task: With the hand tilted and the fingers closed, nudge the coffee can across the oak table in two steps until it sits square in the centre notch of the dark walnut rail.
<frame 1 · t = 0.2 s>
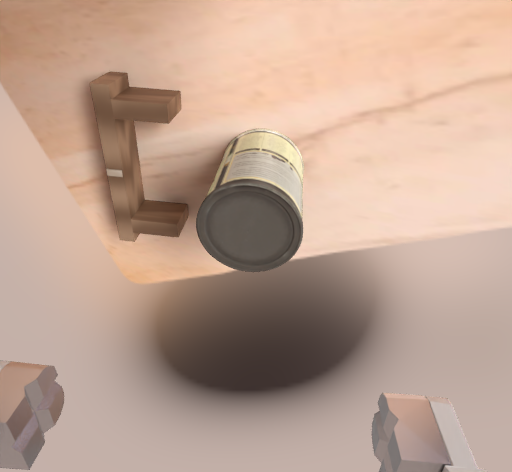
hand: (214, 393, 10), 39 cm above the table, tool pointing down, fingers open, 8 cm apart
walnut rail: (130, 155, 49), on the table
coffee can: (263, 166, 49), on the table
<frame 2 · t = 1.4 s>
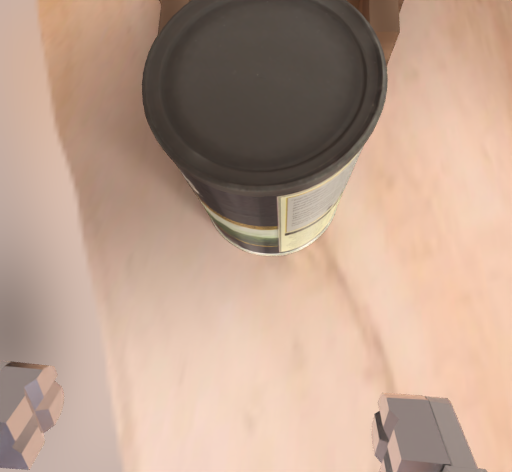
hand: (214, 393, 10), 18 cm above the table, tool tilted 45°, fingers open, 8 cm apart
walnut rail: (279, 7, 34), on the table
coffee can: (272, 193, 30), on the table
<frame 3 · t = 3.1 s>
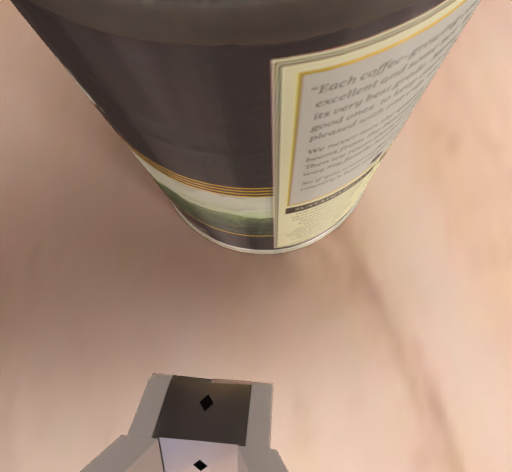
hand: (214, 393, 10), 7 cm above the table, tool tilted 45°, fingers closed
coffee can: (265, 155, 19), on the table
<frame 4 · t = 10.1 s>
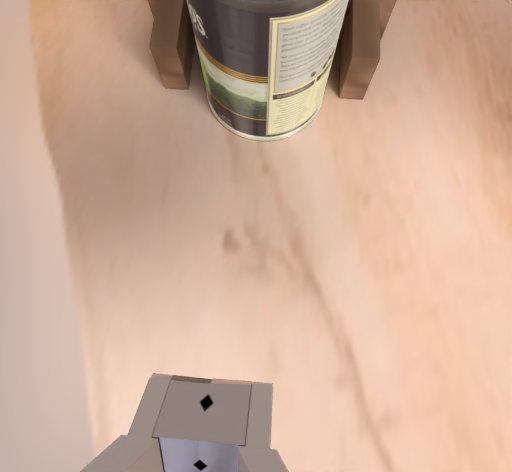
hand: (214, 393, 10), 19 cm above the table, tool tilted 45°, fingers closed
walnut rail: (268, 26, 35), on the table
coffee can: (265, 90, 34), on the table
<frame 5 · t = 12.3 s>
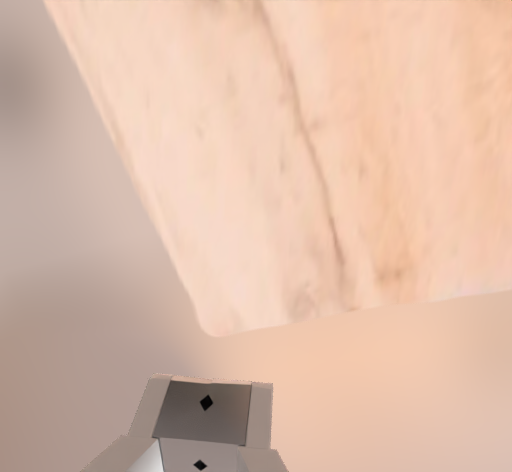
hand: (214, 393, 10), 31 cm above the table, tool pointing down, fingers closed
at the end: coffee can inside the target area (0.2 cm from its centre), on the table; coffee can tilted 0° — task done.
